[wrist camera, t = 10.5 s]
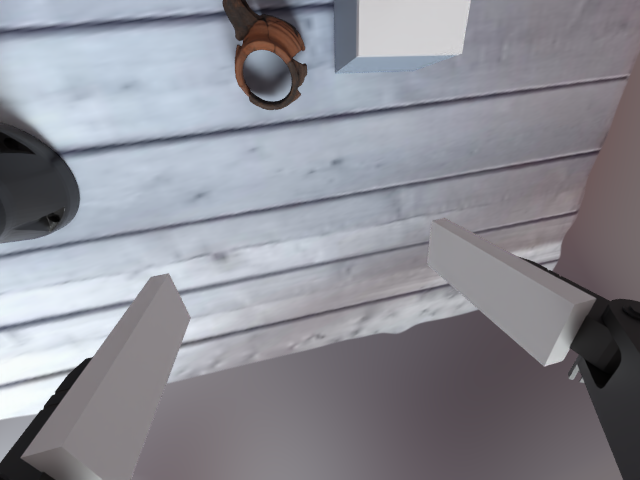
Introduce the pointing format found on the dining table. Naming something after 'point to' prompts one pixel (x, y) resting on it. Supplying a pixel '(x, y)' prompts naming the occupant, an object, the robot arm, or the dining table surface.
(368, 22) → the coin box
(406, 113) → the dining table surface
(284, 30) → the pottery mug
